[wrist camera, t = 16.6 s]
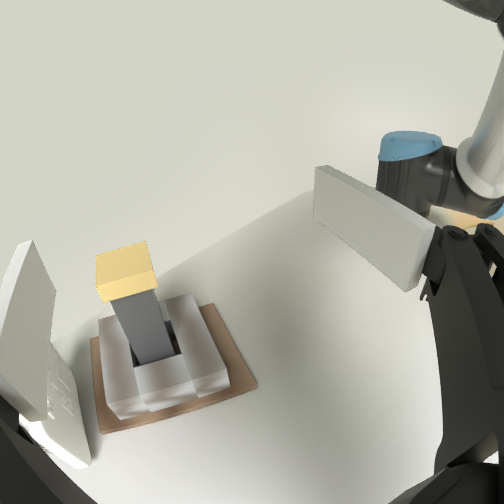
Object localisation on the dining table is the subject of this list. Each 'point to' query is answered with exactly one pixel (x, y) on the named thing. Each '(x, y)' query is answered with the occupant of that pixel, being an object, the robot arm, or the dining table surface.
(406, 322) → the dining table surface
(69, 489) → the robot arm
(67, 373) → the cable organizer
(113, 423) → the socket
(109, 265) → the plug
